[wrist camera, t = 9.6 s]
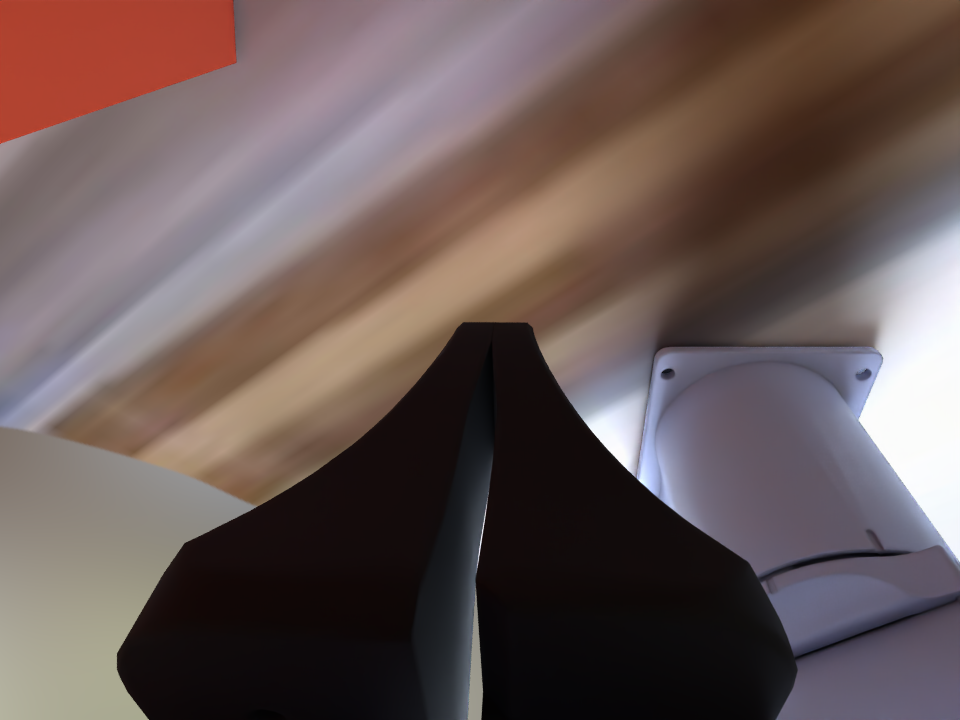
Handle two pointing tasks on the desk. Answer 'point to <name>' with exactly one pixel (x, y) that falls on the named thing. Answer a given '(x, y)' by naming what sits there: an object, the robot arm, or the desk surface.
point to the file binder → (102, 54)
